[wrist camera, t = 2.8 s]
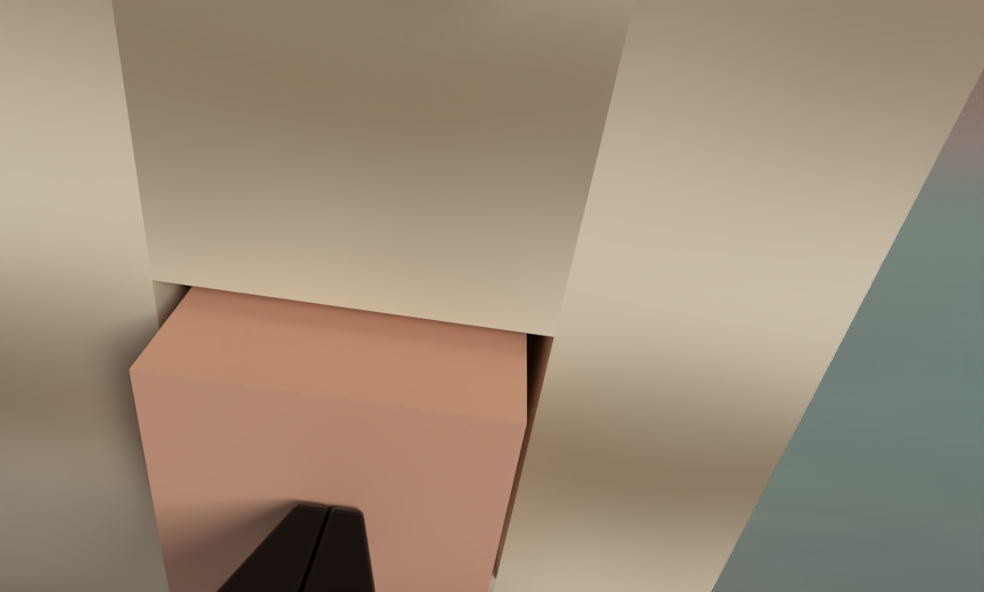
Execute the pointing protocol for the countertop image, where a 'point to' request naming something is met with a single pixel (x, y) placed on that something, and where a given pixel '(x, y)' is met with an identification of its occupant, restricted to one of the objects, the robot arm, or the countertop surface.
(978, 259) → the countertop surface
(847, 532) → the countertop surface
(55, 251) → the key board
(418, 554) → the terracotta key
